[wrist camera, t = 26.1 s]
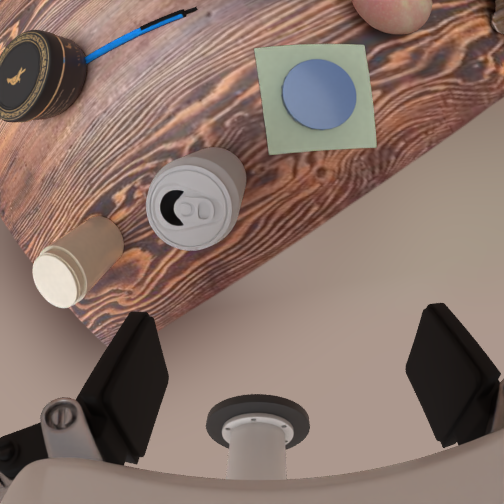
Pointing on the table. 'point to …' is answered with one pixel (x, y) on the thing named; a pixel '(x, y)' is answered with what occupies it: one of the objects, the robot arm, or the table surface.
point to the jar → (39, 76)
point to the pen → (138, 33)
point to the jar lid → (318, 94)
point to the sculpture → (498, 17)
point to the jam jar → (77, 261)
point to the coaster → (294, 134)
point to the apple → (394, 14)
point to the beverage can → (196, 198)
